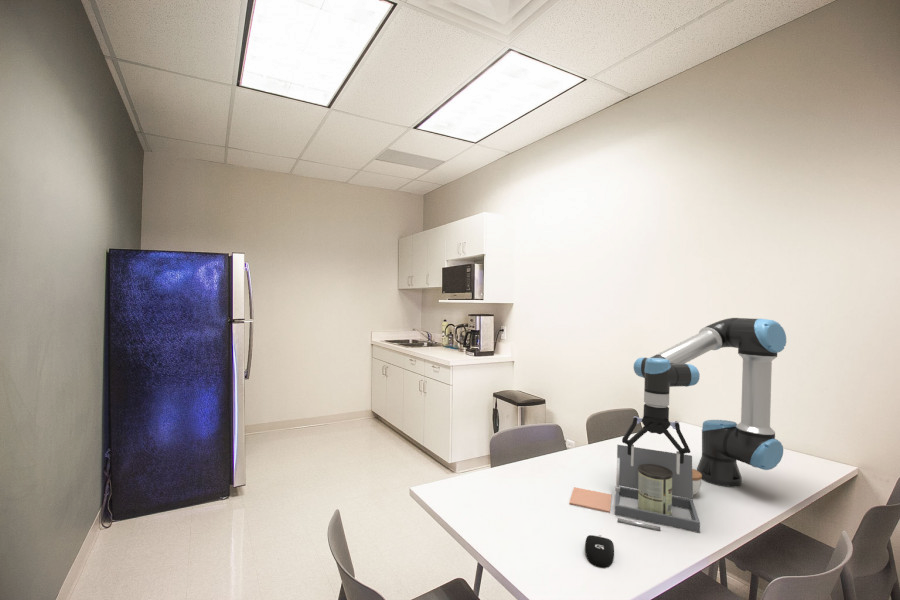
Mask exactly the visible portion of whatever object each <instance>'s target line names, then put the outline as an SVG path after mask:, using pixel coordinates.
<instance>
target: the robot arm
mask: <svg viewBox="0 0 900 600" xmlns="http://www.w3.org/2000/svg"><path fill="white" fill-rule="evenodd" d="M784 329H785V328H784V327H783V326H782V325H781V324H780V323H779V322H778V321H776V320H774V319H767V318H747V317H746V318H745V317H730V318H724V319H721V320H719V321H716V322H713V323H710V324H708V325H705V327H703V328H700V330H699V331H698V333H696V334H695V335H692V336H690V337H689V338H687V339H685V340H682V341H680V342H679V343H676V344H675V345H673V346H671V347H668V348H667V349H665V350H663V351H660V352H659V353H656V354H654V355H652V356H651V357H638V358H636V359H635V361H634V363H633V371H634V374H635V375H636V376H638V377H640V378H643V379H644V388H643V389H644V391H643V395H644V396H643V403H644V404H643V416H642V417H638V416H637V415H634V416H633V418H632V422H631V424H630V426H629V427H628V429H627V431H625V433H624V434H623V435H624V436H623V437H622V439H621V442H622V443H623V444H625V445H626V446H628V455H631V466H633V460H634V447H635V444H634V443H636V442H637V441H638V440H639V439H641V438H642V437H643V436H644V435H645V434H646V433H647V432H649V433H650V434H658V435H661V434H662V435H663V434H664V435H665V437H666V438H667V439H668V440H669V442H671V444H672V446H674V448H675V449H676V450H677V451H676V452H675V453H676V473H677V474H679V472H680V463H681V464H683V463H684V455H686V454H691V448H690V447H689V445H688V443H687V441H686V440H685V437H684V435H683V433H682V431H681V426H680V423H679V421H678V420H675V421H670V420H669V419H670V417H669V415H670V407H669V406H670V390H671V389H670V388H672V387H673V388H674V387H676V388H677V387H678V388H679V387H687V388H688V387H691V386H695V385H697V384H698V383H699V381H700V371H699V369H698V368H697V367H696V366H695V365H694V364H691V363H690V362H691V361H693V360H695V359H697V358H699V357H701V356H702V355H704V354H706V353H708V352H710V351H718V350H720V349H721V348H722V349H723V348H735V349H737V354H738V355H739V356H740V357H741V358H742V375H741V376H742V377H741V379H742V380H741V408H740V409H741V411H740V413H741V414H740V415H741V416H740V422H739V423H737V422H735V421H731V420H725V419H724V420H723V419H708V420H707V419H706V420H704V421H703V423H702V429H701V456H700V459H699V462H698V465H697V467H696V470H697V471H699V472H700V473H701V474H702V479H701V481H702V480H703V481H705V482H707V483H709V484H710V483H711V484H713V485H717V486H722V487H728V488H729V487H731V488H735V487H740V486H741V485H743V483H742V482H743V481H742V480H743V476H742V475H741V471H740V469H739V466H738V463H737V461H739V462H741V463H744V464H747V465H749V466H751V467H753V468H757V469H761V470H764V471H770V470H773V469H775V468H776V467H777V466H778V464H779V463H780V462H781V461H782V458H783V455H784V446H783V444H782V442H781V441H780V440H778V439H776V432H775V430H774V429H773V428H772V427H771V405H772V404H771V403H772V402H771V401H772V399H771V398H772V369H773V368H772V367H773V366H772V365H773V363H772V362H773V360H775V359H777V357H778V353H781V352H782V351H784V349H785V347H786V345H787V333H786V332H785V330H784ZM688 362H689V363H688ZM640 423H642V425H643V427H641V429H639V430H638V431H637V432H636V433H635V434H633V436H632V437H631V438H630V436H631V435H632V433H633V432H634V430H635V429H636V427H637V425H639V424H640ZM671 427H672V429H674V430H675V431H676V433H677V436H678V437H679V440H680V442H681V444H682V445H683V448H682V446H681V445H680V444H679V443H678V441H677V440H676V439H675V437H674V436H673V435H672V434H671V432H670V431H669V430H668V429H669V428H671Z"/></svg>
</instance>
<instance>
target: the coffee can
mask: <svg viewBox="0 0 900 600" xmlns="http://www.w3.org/2000/svg"><path fill="white" fill-rule="evenodd" d="M672 476H673V473H672V471H671V470H670V469H668V468H666V467H663V466H660V465H655V464H641V465H639V466H638V489H637V490H638V499H637V509H641V510H646V511H651V512H656V513H661V514H666V515H671V516H673V514H672V513H673V510H672V507H673V506H672Z"/></svg>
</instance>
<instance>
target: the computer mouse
mask: <svg viewBox="0 0 900 600" xmlns="http://www.w3.org/2000/svg"><path fill="white" fill-rule="evenodd" d="M584 552H585V556H586V559H587V561H588V562H589V563H590V564H591V565H593V566H595V567H599V568H603V569H605V568H609V567H610V566H611V565H612V563H613V561H614V556H615V546H614V542H613V540H611V539H609V538H607V537H604V536H603V537H602V534H601V535H600V534H598V535H592V534H591V535H587V536H586V538H585V546H584Z"/></svg>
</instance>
